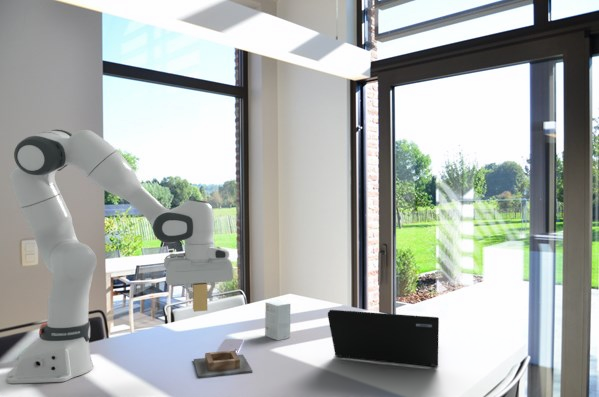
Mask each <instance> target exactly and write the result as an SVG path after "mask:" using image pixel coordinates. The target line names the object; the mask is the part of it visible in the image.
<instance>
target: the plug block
mask: <svg viewBox="0 0 599 397" xmlns="http://www.w3.org/2000/svg"><path fill="white" fill-rule="evenodd" d="M207 291H208V283H197V284H192V292H193V296H194V298H193V299H192V310H193V312H204V311H207V312H208V297H207Z"/></svg>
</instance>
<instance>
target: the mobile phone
mask: <svg viewBox="0 0 599 397" xmlns="http://www.w3.org/2000/svg"><path fill="white" fill-rule="evenodd" d="M244 342H245V340H244V339H241V338H225V339H223V341H222V342H221V344H220V345H219V347H218V349H217V350H216V352H223V351H234V350H235V352H236V354H237V355H238V354H239V352H240V351H241V348H242V346H243V344H244Z"/></svg>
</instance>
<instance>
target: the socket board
mask: <svg viewBox="0 0 599 397" xmlns="http://www.w3.org/2000/svg"><path fill="white" fill-rule="evenodd" d="M193 364H194V367H195V370H196V374H197V377H198V379H203V378H212V377H221V376H231V375H241V374H249V373H253V369H252V367H251V366H250V364H249V362H248V361H247V359H246V357H245V355H244V354H238V353H237V354H236V352H235V350H234V351H223V352H217V351H213V352H204V357H202V358H200V357H199V358H193Z"/></svg>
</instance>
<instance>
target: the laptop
mask: <svg viewBox="0 0 599 397" xmlns="http://www.w3.org/2000/svg"><path fill="white" fill-rule="evenodd" d="M327 318H328V322H329V323H328V324H329V329H330V334H331V340H332V345H333V350H334V355H335V356H337V357H339V358H349V359H358V360H359V359H360V360H371V361H379V362H389V363H390V362H392V363H399V364H400V363H401V364H408V365H409V364H411V365H422V366H431V367H436V366H438V365H439V332H440V331H439V327H440V326H439V324H440V321H439V319H440V318H439V317H436V316H423V315H412V314H409V315H408V314H397V313H395V314H394V313H384V312H383V313H382V312H368V311H355V310H340V309H339V310H338V309H330V310H328V312H327Z"/></svg>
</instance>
